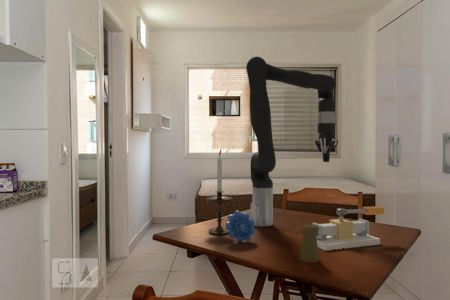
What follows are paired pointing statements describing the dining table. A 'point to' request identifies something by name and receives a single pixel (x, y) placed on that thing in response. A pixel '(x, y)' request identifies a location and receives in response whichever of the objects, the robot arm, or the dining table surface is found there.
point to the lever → (362, 210)
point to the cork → (309, 244)
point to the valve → (344, 234)
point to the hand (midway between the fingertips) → (326, 161)
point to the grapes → (240, 226)
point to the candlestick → (219, 201)
